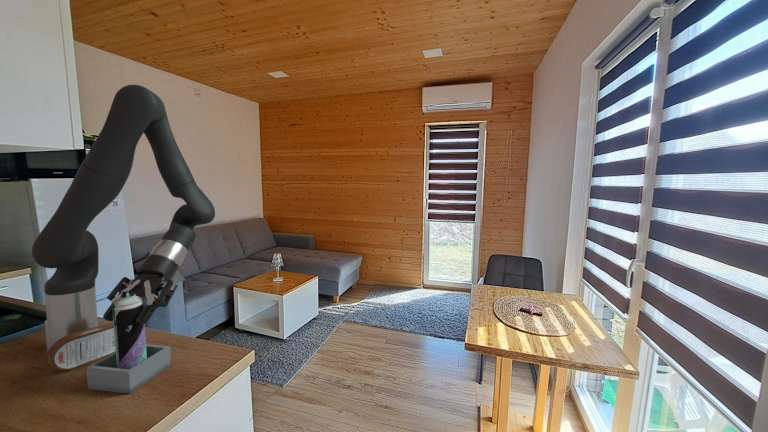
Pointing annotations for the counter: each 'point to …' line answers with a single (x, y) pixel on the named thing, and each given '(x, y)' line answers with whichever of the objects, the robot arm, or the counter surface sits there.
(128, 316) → the spray can
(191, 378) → the counter surface
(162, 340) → the counter surface
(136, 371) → the box
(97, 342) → the tin
